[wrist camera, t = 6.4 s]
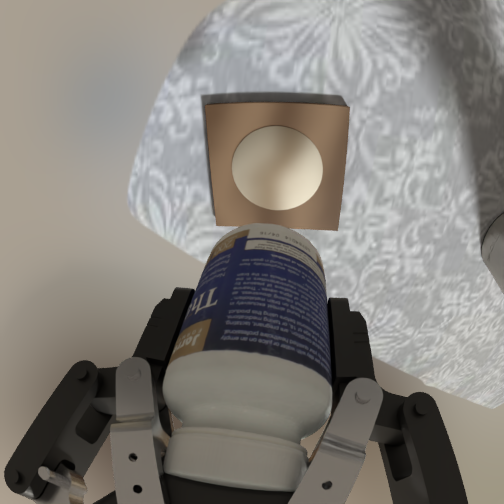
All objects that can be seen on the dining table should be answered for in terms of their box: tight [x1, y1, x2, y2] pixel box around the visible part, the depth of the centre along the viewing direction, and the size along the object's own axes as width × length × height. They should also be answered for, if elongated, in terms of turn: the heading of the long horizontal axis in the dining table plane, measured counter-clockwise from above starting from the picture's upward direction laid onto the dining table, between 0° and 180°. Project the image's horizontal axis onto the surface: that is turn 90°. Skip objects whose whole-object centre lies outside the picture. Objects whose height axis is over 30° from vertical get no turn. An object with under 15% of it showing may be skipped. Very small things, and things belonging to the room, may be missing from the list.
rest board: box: [205, 102, 350, 231], centre depth 25 cm, size 12×12×1 cm
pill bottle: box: [162, 223, 333, 492], centre depth 10 cm, size 5×5×10 cm
